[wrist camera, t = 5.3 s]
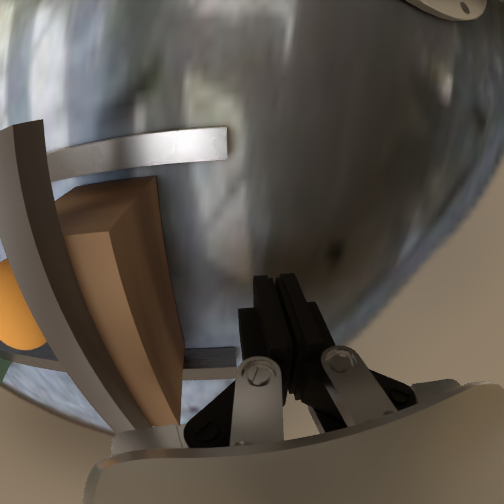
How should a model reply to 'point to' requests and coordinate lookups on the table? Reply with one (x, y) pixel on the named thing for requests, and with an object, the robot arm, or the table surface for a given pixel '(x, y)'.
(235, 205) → the table surface
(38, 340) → the ball
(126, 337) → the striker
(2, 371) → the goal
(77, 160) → the track
